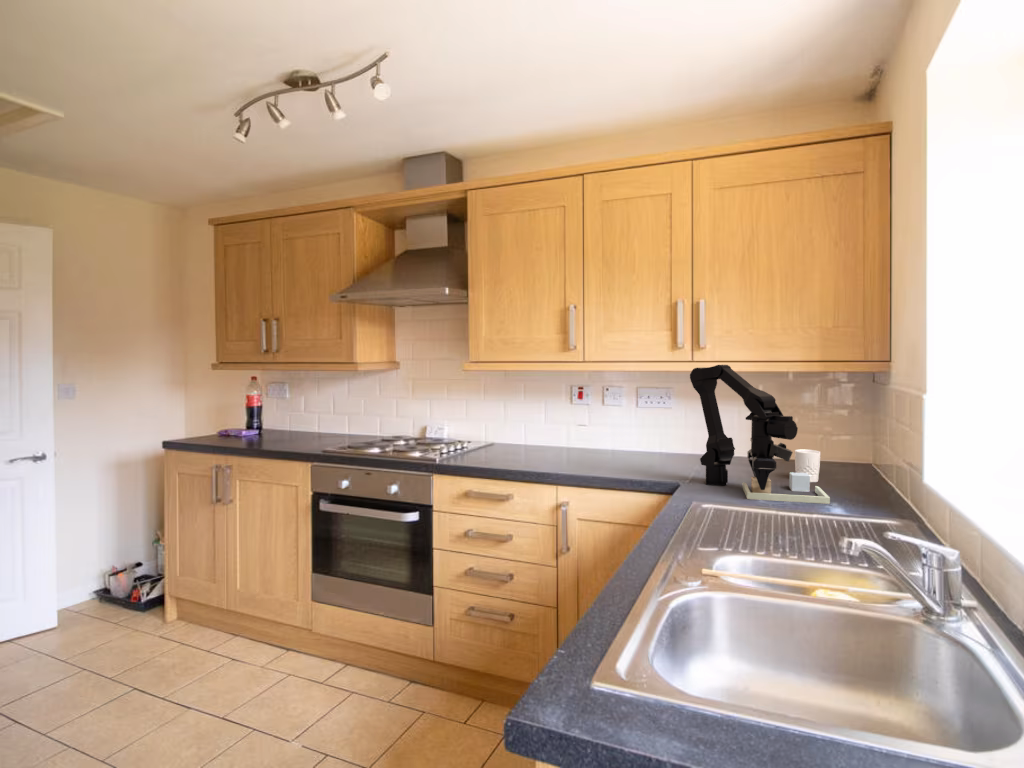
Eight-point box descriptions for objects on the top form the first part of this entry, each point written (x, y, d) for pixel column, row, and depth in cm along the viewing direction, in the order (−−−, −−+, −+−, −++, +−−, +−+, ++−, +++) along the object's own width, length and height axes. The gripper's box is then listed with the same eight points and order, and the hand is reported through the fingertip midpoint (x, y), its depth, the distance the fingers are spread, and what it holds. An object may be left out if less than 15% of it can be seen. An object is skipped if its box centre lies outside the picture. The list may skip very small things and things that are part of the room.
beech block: (753, 496, 176) (753, 480, 176) (751, 492, 181) (751, 476, 180) (770, 497, 174) (771, 480, 174) (768, 493, 179) (768, 477, 179)
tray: (747, 499, 172) (747, 493, 172) (742, 488, 186) (742, 482, 186) (829, 503, 166) (830, 497, 166) (818, 492, 180) (818, 486, 180)
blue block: (792, 491, 182) (792, 475, 182) (789, 487, 187) (789, 472, 187) (809, 492, 181) (809, 476, 181) (806, 488, 186) (806, 473, 185)
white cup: (812, 477, 201) (812, 449, 201) (825, 482, 194) (825, 452, 193) (789, 478, 201) (790, 449, 201) (801, 483, 193) (802, 453, 193)
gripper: (796, 441, 165) (795, 495, 166) (785, 432, 183) (784, 481, 184) (753, 439, 169) (753, 492, 169) (747, 431, 186) (746, 479, 187)
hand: (760, 486), depth 177 cm, fingers open, 9 cm apart
